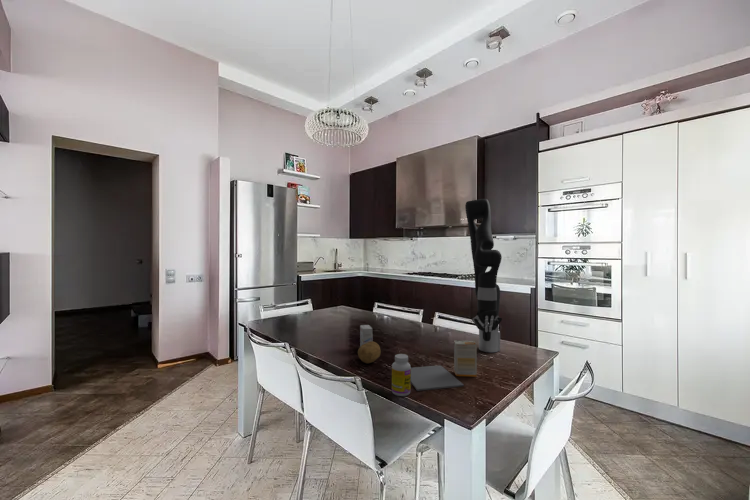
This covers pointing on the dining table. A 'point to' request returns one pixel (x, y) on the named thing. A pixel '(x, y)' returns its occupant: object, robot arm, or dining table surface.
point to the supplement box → (465, 358)
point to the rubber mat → (433, 378)
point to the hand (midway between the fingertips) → (486, 340)
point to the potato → (369, 352)
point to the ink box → (365, 334)
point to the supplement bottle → (401, 376)
